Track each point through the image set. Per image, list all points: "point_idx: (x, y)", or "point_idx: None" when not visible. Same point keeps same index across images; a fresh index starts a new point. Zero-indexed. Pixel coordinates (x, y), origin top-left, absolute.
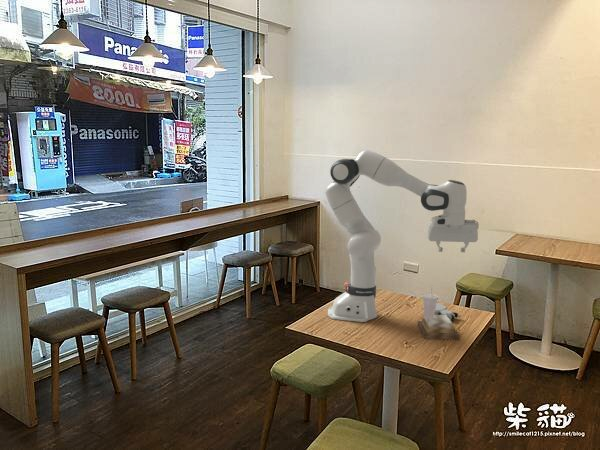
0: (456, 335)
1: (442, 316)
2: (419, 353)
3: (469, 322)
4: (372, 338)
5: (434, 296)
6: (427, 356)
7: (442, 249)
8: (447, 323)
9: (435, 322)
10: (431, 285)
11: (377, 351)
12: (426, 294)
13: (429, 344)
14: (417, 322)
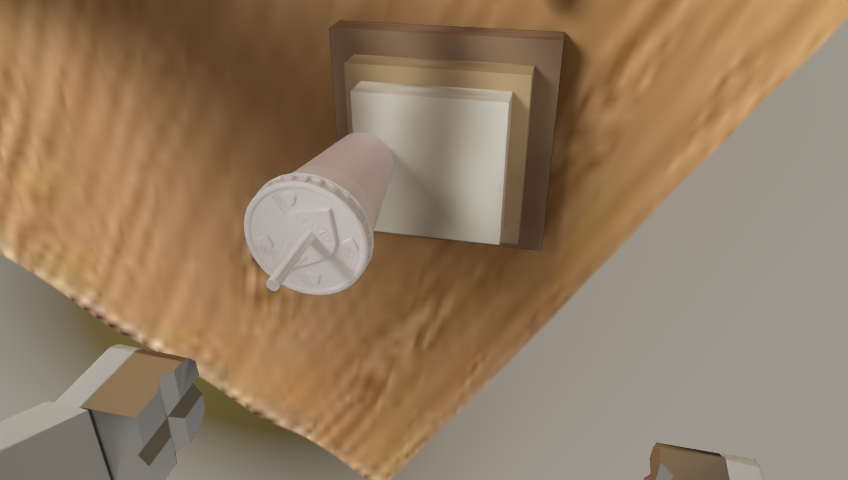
0: (524, 247)
1: (469, 130)
2: (307, 353)
3: None
4: (104, 203)
5: (338, 248)
6: (336, 378)
7: (175, 463)
8: (469, 239)
9: (392, 231)
10: (271, 280)
11: (142, 323)
12: (278, 198)
13: (366, 279)
14: (332, 31)
